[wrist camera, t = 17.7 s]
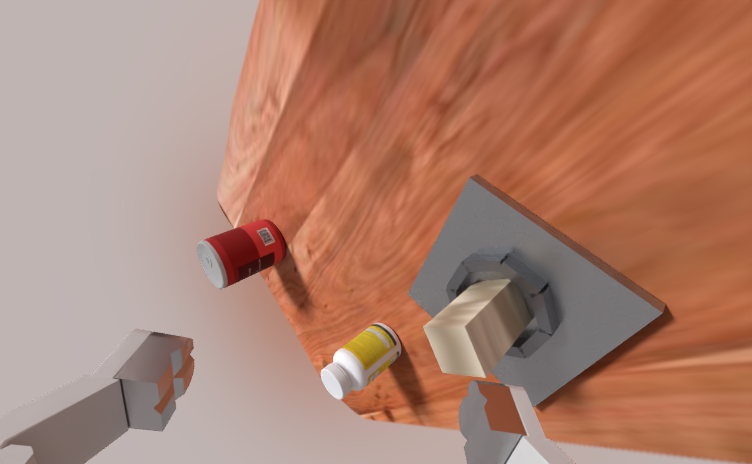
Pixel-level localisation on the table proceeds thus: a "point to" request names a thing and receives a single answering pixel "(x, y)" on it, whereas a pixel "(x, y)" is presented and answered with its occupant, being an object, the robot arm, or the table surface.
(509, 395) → the robot arm
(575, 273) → the grey square socket board
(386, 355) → the supplement bottle
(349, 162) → the table surface
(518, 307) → the birch block
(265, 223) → the canned food
